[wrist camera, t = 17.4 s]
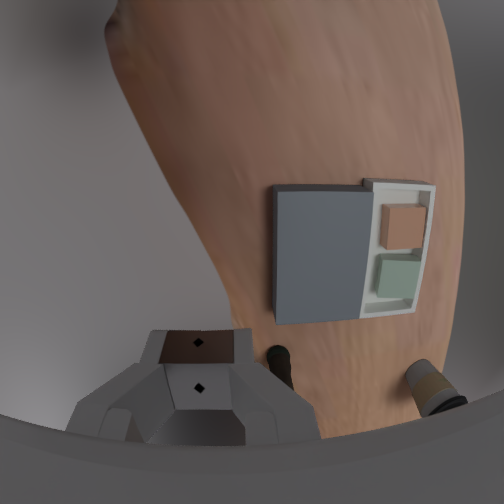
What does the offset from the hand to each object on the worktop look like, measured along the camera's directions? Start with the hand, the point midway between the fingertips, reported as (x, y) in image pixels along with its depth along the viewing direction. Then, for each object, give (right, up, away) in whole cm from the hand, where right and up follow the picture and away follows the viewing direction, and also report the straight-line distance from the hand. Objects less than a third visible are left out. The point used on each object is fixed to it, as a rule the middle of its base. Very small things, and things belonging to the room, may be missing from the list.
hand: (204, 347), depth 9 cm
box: (+22, +4, +36) cm, 42 cm away
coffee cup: (+35, -21, +46) cm, 62 cm away
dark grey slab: (+10, +3, +35) cm, 37 cm away
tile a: (+23, +6, +32) cm, 40 cm away
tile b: (+23, -1, +34) cm, 41 cm away
